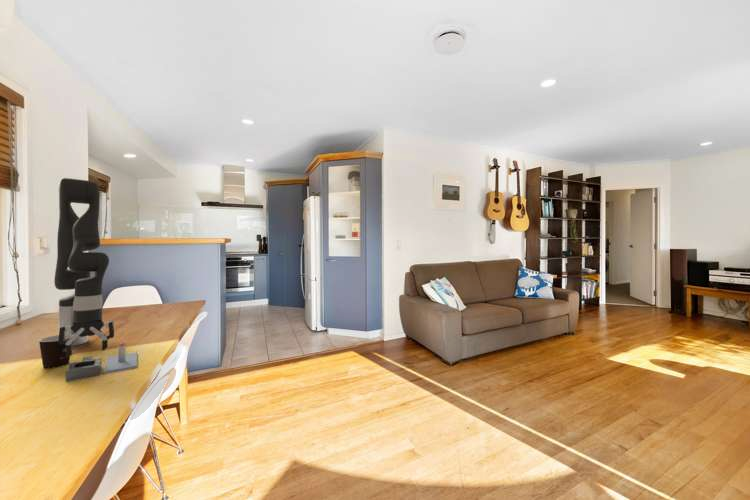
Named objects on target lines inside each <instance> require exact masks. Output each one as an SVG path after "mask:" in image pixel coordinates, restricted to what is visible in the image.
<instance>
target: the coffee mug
mask: <svg viewBox="0 0 750 500" xmlns="http://www.w3.org/2000/svg"><path fill="white" fill-rule="evenodd" d="M72 336H73V335H70V334H65V340H69V339H70V338H71V337H72ZM58 339H59V335H57V334H56V335H50V336H46V337H42V338H40V339H39V340H38V343H39V349H40V350H39V351H40V356H41V362H42V368H43V369H45V370H47V369H48V370H50V369H58V368H62V367H64V366H68V365H70V360H71V359H70V358H71V356H69V354H66V345H63V344H61V345H59V344H58ZM73 342H74V341H73ZM73 342H72V344H73Z"/></svg>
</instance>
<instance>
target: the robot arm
mask: <svg viewBox="0 0 750 500" xmlns="http://www.w3.org/2000/svg"><path fill="white" fill-rule="evenodd" d="M100 192H101V191H100V188H99V184H98V182H95V181H92V180H84V179H78V178H71V177H69V178H68V177H63V178H61V179H60V180H59V183H58V210H59V217H58V228H57V239H56V240H57V253H56V254H57V257H56V265H55V272H54V280H53V281H54V287H55V288H56V289H57V290H60V291H61V290H62V291H67V290H69V291H70V290H74V293H73V294H71V295H68V296H65V297H62V298H61V299H59V301H58V335H59V339H58V344H59V345H61V344H63V345H66V354H69V356H70V357H71V356H73V347H74V346H78V345H82V344H85V343H87V342H88V341H89V337H92V336H95V335H96V336H97V337H99V338H100V339H101V351H102V352H103V351H105V350H107V348H108V345H109V344H108V343H109V339H112V338H114V337H115V327H114V325H115V324H114V320H110V321H105V322H104V321H103V306H104V305H103V295H102V294H103V288H102V287H103V280H104V277H105V274H106V271H107V269H108V267H109V264H110V259H109V256H108V255H107V254H106V253H105V252H99V251H97V252H95V251H94V250H97V249H98V248H99V247H100V245H101V240H100V239H101V238H100V231H99V217H100V204H101V203H100V199H101V198H100V197H101V196H100ZM73 203H74V204H84V205H88V207H87V209H86V211H85V212H84V213H83V214H82V215H81V216H80V217H79V216H78V214H77V213H76V212H75V211H74V209H73V207H72V204H73ZM88 251H89V252H88ZM90 251H94V252H90ZM91 272H92V273H93V272H94V274H93V275H91ZM104 326H105V327H106V328H107V329H108V333H109V334H106V333H104V331H103V330H102V329H103V327H104ZM65 334H70V335H73V336H72V337H71V338H70V339H69V340H65ZM73 341H74V342H73ZM72 342H73V344H72Z"/></svg>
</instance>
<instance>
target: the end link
mask: <svg viewBox="0 0 750 500" xmlns="http://www.w3.org/2000/svg"><path fill="white" fill-rule="evenodd" d="M93 357H94V356H93V355H91V356H84V357H82V360H80V361H73V362H69V364H68V365H67V369H66V370H65V382H72V381H76V380H77V381H78V380H83V379H87V378H88V379H89V378H93V377H94V378H95V377H100V374H101V370H102V367H103V366H102V365H103V363H102V362H103V358H102V357H99V358H93Z"/></svg>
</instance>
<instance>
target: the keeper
mask: <svg viewBox="0 0 750 500" xmlns="http://www.w3.org/2000/svg"><path fill="white" fill-rule="evenodd" d="M117 352H118V353H117V355H112V356H110V355H109V356H107V357H106V362H105V365H104V368H103V374H105V375H106V374H109V373H114V372H119V371H120V372H121V371H127V370H131V369H137V368H138V351H137V352H130V353H126V343H125V342H120V343H119V344H118V351H117Z"/></svg>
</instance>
